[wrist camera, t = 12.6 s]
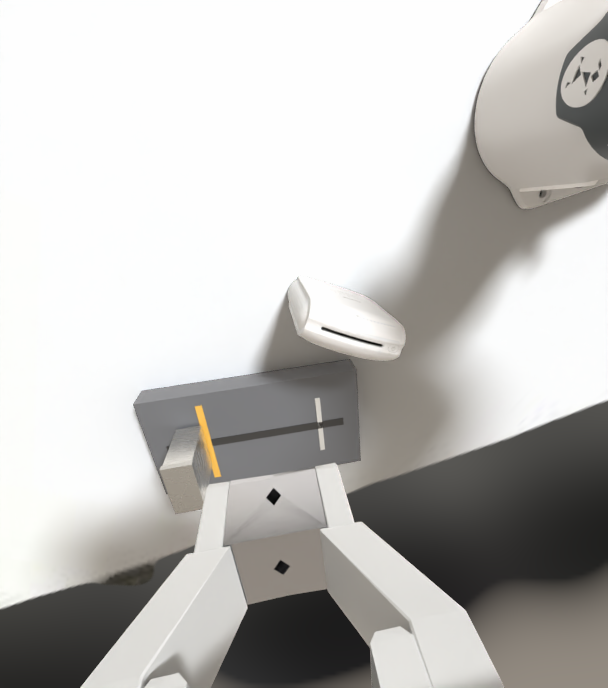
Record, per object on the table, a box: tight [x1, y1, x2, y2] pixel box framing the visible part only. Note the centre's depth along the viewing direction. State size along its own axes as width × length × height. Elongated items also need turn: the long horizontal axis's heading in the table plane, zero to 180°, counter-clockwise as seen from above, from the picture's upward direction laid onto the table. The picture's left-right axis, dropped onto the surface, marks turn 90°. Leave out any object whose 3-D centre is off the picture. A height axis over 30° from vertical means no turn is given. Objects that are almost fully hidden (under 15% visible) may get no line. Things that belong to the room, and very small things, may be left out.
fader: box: [159, 425, 212, 514], centre depth 37 cm, size 3×6×7 cm, turn 6°
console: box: [133, 359, 361, 494], centre depth 43 cm, size 26×14×3 cm, turn 96°
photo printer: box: [288, 276, 406, 361], centre depth 33 cm, size 10×4×12 cm, turn 71°
